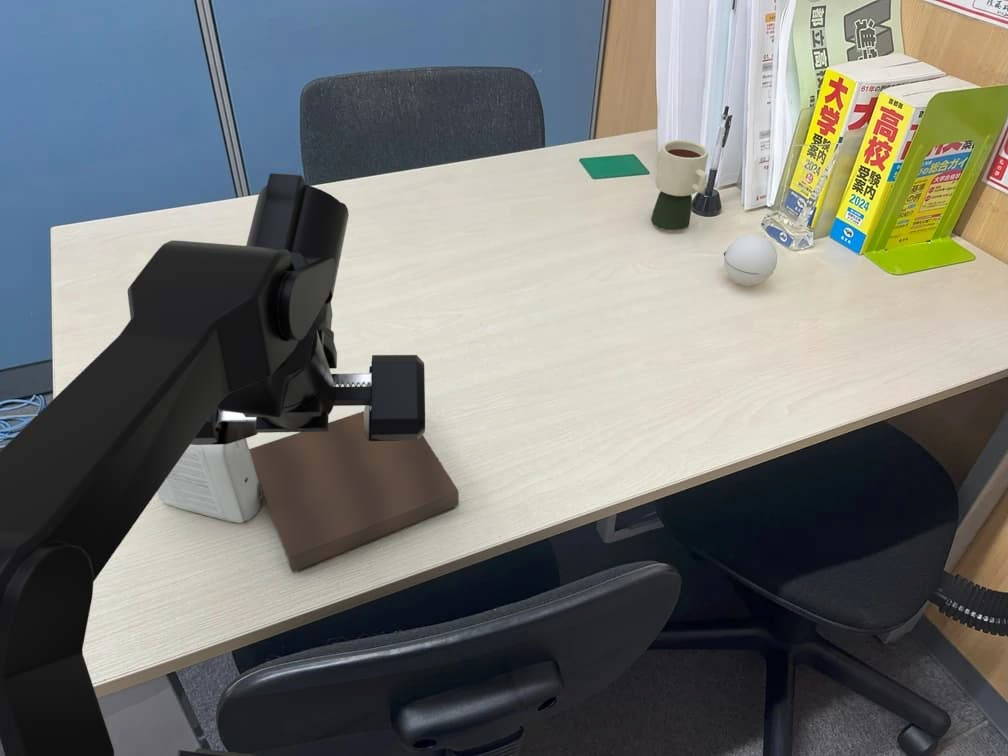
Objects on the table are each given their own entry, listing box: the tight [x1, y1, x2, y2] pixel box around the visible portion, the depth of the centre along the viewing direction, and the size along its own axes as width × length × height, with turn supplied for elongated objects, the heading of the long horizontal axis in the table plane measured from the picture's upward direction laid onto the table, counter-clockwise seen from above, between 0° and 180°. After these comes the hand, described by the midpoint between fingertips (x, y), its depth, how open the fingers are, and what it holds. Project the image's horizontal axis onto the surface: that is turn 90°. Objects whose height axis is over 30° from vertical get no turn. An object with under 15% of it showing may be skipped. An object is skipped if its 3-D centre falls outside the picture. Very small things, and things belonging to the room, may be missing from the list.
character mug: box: [650, 139, 709, 231], centre depth 113 cm, size 11×7×13 cm, turn 31°
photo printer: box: [156, 438, 262, 524], centre depth 67 cm, size 10×4×12 cm, turn 75°
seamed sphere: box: [719, 233, 778, 287], centre depth 102 cm, size 10×7×7 cm
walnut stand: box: [249, 410, 460, 573], centre depth 73 cm, size 17×15×2 cm
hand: (312, 427), depth 60 cm, fingers open, 9 cm apart
